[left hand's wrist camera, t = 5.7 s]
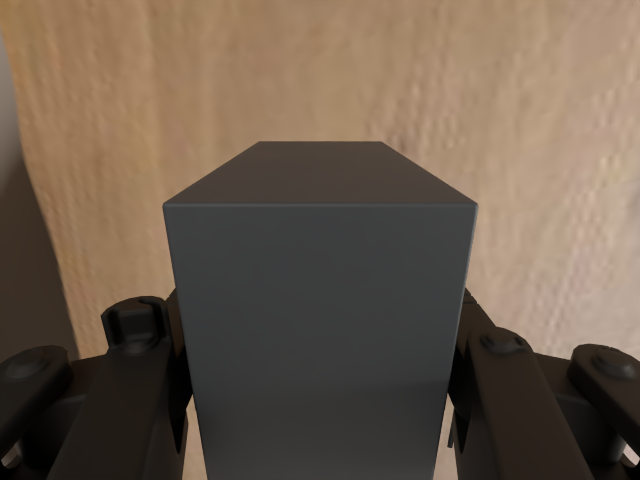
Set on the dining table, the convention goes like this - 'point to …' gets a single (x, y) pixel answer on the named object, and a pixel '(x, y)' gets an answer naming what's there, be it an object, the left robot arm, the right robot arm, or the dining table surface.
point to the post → (320, 309)
